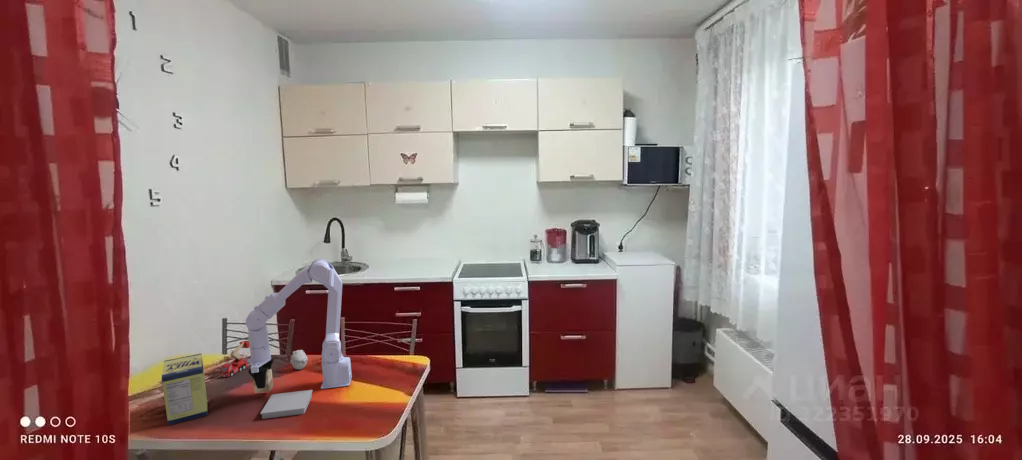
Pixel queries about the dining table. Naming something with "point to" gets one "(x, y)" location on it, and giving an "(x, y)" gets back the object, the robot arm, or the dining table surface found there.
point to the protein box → (184, 388)
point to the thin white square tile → (287, 404)
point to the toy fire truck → (235, 361)
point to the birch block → (268, 383)
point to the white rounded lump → (298, 359)
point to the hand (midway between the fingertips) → (263, 384)
